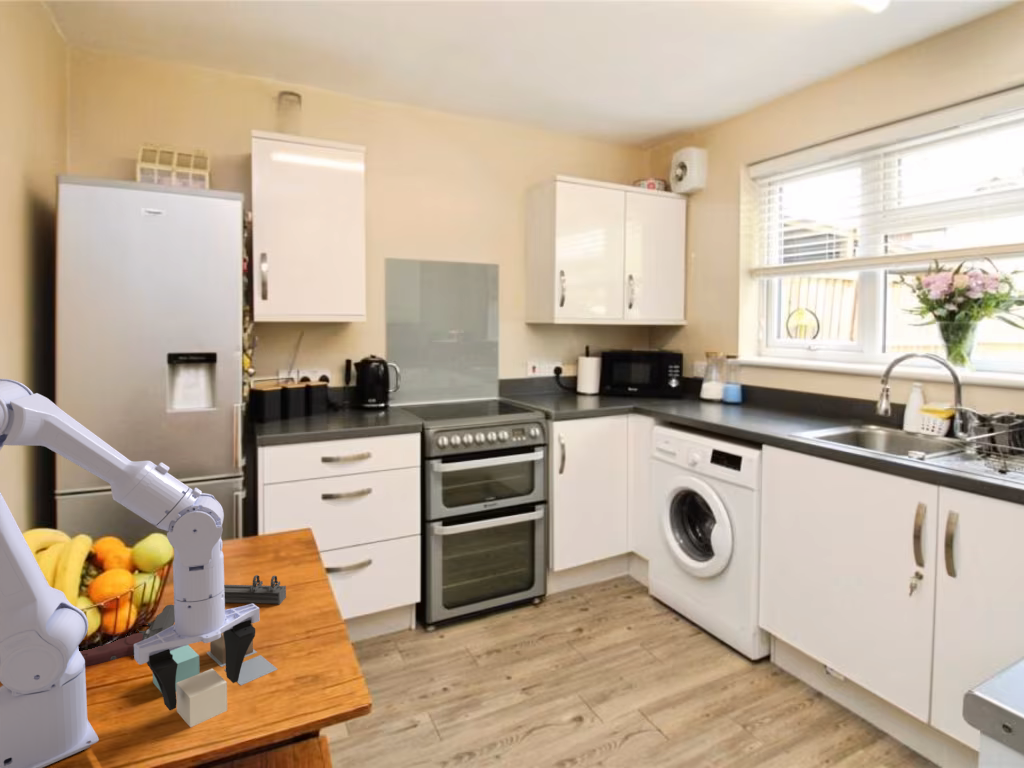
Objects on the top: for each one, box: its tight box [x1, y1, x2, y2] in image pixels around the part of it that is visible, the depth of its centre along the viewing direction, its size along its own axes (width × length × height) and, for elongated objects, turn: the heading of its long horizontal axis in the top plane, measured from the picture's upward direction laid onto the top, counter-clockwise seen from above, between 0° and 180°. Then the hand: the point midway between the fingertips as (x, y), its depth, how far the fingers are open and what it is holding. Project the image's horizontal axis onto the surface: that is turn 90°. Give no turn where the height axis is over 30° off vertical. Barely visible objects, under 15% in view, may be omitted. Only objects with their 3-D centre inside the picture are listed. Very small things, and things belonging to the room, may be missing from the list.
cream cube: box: [176, 668, 228, 728], centre depth 76 cm, size 4×4×4 cm
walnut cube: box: [209, 623, 254, 664], centre depth 89 cm, size 4×4×4 cm
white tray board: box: [206, 648, 278, 686], centre depth 87 cm, size 10×12×1 cm
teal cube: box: [152, 644, 201, 694], centre depth 82 cm, size 4×4×4 cm
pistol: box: [80, 604, 175, 667], centre depth 93 cm, size 2×15×12 cm
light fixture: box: [224, 574, 287, 606], centre depth 106 cm, size 3×15×6 cm, turn 90°
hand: (202, 692), depth 76 cm, fingers open, 7 cm apart
